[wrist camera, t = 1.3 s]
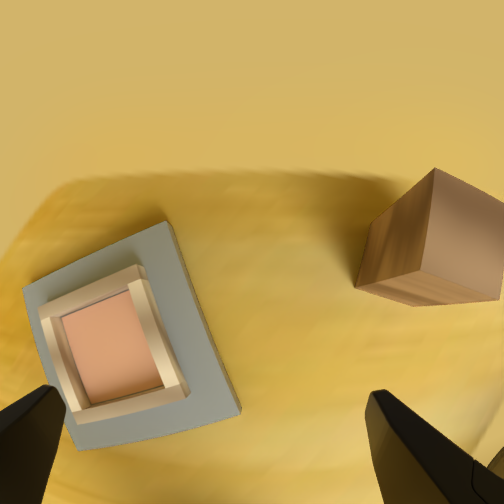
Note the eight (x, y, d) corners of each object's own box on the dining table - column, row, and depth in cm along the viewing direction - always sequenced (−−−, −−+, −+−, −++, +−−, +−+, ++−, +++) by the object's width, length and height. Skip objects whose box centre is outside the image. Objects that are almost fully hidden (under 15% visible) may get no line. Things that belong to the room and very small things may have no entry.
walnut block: (413, 306, 21) (499, 300, 11) (354, 287, 22) (420, 270, 12) (426, 244, 22) (507, 205, 12) (370, 223, 22) (434, 167, 13)
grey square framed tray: (241, 407, 20) (238, 421, 17) (86, 445, 20) (68, 457, 17) (171, 226, 23) (159, 214, 20) (32, 289, 22) (10, 286, 19)
